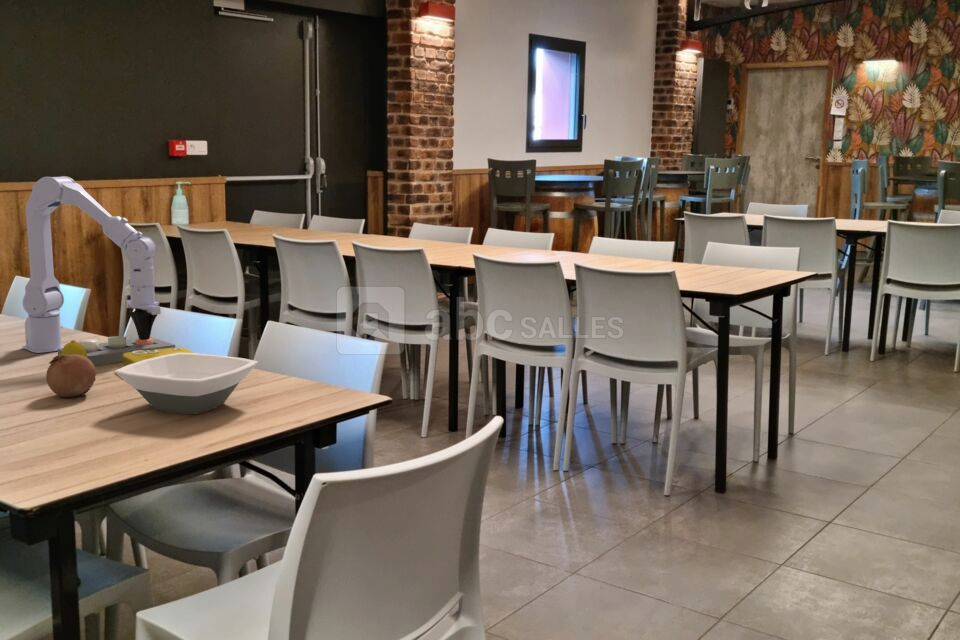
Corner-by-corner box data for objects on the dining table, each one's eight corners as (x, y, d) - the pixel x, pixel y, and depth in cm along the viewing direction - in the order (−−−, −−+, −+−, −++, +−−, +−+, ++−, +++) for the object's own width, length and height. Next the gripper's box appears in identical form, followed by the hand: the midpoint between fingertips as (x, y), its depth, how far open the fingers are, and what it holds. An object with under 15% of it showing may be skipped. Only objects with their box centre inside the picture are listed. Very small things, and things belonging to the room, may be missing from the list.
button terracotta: (132, 349, 241) (132, 338, 241) (148, 346, 244) (148, 336, 244) (140, 351, 238) (140, 341, 238) (156, 349, 241) (155, 339, 241)
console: (58, 358, 232) (57, 348, 232) (151, 346, 249) (150, 337, 249) (80, 367, 223) (80, 357, 223) (175, 354, 240) (175, 344, 240)
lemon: (81, 378, 213) (80, 343, 212) (57, 377, 213) (55, 342, 212) (92, 372, 219) (90, 338, 217) (68, 372, 219) (66, 337, 218)
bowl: (203, 427, 178) (202, 382, 177) (105, 413, 186) (103, 370, 184) (268, 400, 198) (268, 360, 197) (177, 388, 206) (176, 350, 205)
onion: (55, 413, 196) (29, 373, 191) (70, 390, 204) (45, 351, 200) (97, 398, 195) (71, 358, 190) (110, 376, 203) (86, 337, 199)
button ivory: (77, 351, 231) (76, 340, 231) (94, 349, 234) (93, 338, 234) (84, 353, 228) (84, 343, 228) (101, 351, 231) (101, 341, 231)
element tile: (142, 383, 212) (141, 362, 211) (120, 371, 223) (119, 351, 222) (207, 375, 221) (206, 355, 220) (183, 363, 232) (182, 344, 231)
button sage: (105, 347, 236) (105, 337, 236) (121, 345, 239) (121, 335, 238) (112, 350, 233) (112, 339, 233) (129, 348, 236) (129, 337, 236)
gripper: (171, 287, 236) (173, 341, 238) (143, 281, 246) (145, 333, 249) (144, 290, 231) (146, 345, 234) (117, 283, 241) (119, 336, 244)
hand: (144, 339), depth 241 cm, fingers closed, pressing on button terracotta
